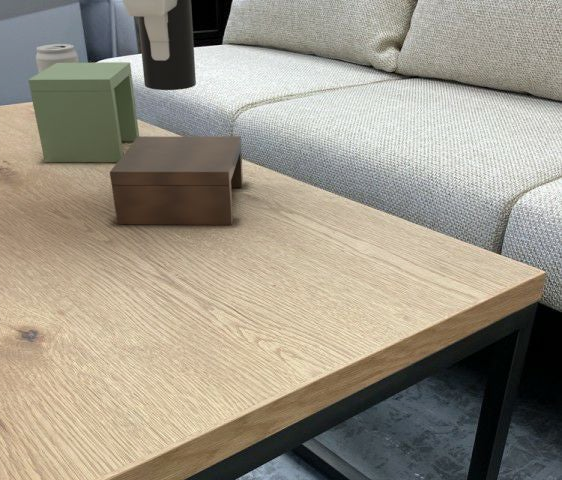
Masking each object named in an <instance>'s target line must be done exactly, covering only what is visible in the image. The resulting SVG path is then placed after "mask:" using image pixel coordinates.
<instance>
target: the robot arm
mask: <svg viewBox="0 0 562 480" xmlns="http://www.w3.org/2000/svg"><path fill="white" fill-rule="evenodd" d="M122 3H123V6H124V8H125V11H126V13H127V15H128V16H129V17H138V16H142V17H144V22H145V27H146V30H147V34H148V37H149V40H150V46H151V56H152V58H153V59H154V60H167V59H168V58H169V57H170V55H171V46H170V40H169V38H168V28H167V23H168V15H167V12H168V11H170V10H171V9H173V8H174V7H175V6H176V5H177V0H122Z"/></svg>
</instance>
